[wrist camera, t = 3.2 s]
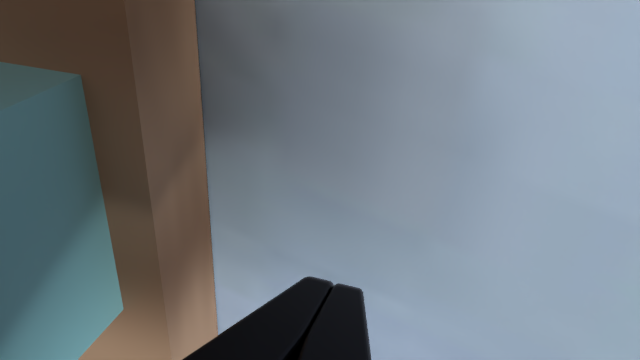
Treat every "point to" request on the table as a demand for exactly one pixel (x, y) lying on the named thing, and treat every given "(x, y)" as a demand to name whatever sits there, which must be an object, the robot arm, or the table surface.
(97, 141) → the board
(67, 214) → the block
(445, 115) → the table surface
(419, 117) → the table surface
